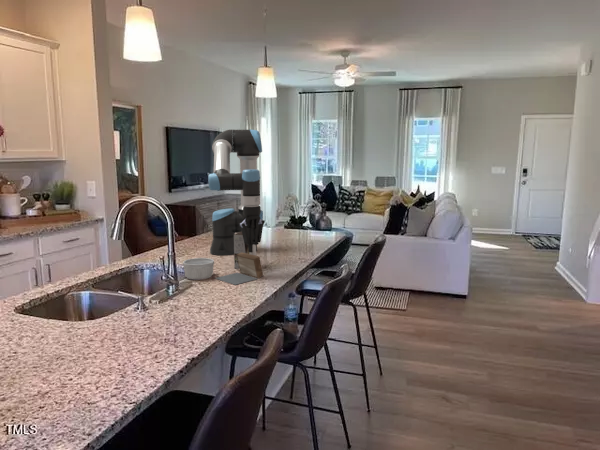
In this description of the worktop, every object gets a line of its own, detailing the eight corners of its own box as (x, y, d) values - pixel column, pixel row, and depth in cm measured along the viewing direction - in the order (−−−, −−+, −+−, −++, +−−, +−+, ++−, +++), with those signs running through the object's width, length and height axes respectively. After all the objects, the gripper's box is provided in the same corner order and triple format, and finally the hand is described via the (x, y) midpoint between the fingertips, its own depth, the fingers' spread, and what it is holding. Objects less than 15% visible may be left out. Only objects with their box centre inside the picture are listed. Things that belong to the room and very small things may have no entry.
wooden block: (245, 270, 201) (241, 252, 199) (263, 275, 193) (259, 256, 190) (240, 273, 199) (236, 254, 197) (258, 278, 191) (254, 259, 188)
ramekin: (204, 270, 204) (203, 256, 203) (220, 276, 194) (220, 260, 193) (177, 276, 195) (177, 261, 193) (194, 282, 185) (193, 266, 184)
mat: (237, 273, 199) (237, 272, 199) (257, 279, 190) (257, 278, 190) (215, 278, 191) (214, 277, 191) (235, 285, 181) (235, 284, 181)
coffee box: (247, 269, 206) (246, 234, 203) (234, 268, 207) (233, 234, 205) (253, 264, 215) (252, 231, 212) (240, 263, 216) (239, 231, 213)
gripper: (245, 207, 185) (246, 263, 189) (268, 205, 194) (269, 257, 198) (234, 206, 190) (235, 260, 194) (257, 203, 199) (258, 255, 203)
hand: (252, 259), depth 196 cm, fingers closed
